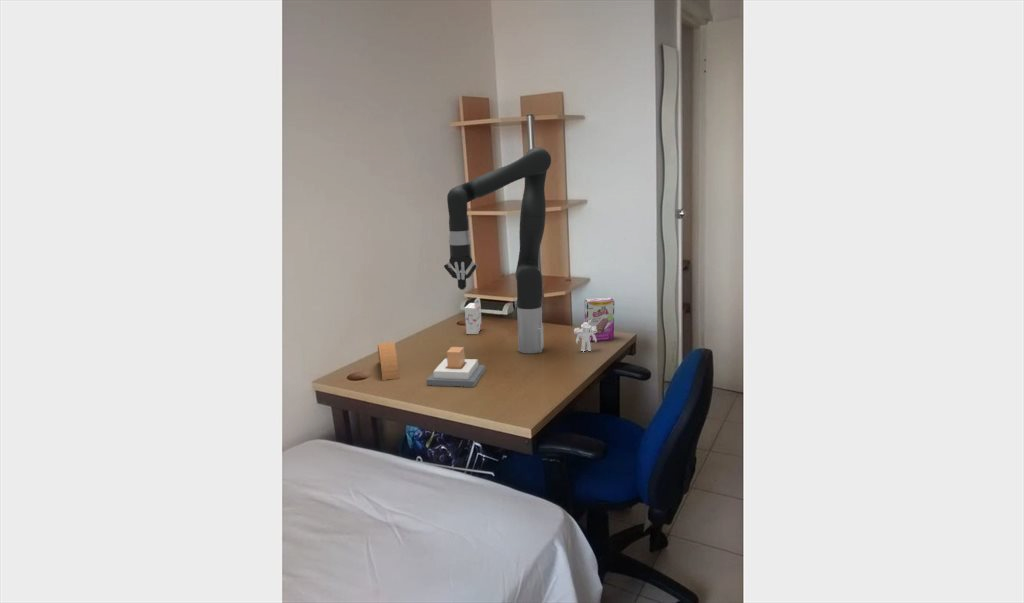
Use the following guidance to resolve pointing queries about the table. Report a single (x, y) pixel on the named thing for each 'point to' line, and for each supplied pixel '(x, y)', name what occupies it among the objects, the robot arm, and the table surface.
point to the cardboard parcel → (455, 358)
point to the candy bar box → (600, 317)
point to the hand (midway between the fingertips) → (462, 289)
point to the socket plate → (457, 382)
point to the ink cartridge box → (473, 317)
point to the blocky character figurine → (585, 335)
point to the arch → (388, 360)
